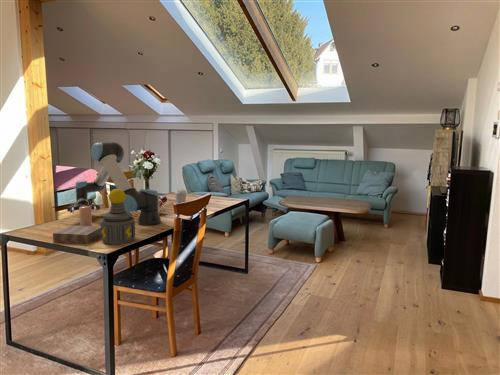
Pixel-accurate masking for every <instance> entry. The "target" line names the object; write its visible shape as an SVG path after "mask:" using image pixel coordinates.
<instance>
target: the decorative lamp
mask: <svg viewBox="0 0 500 375" xmlns="http://www.w3.org/2000/svg"><path fill="white" fill-rule="evenodd" d="M125 198H126V195H125V193H124V192H123V191H122V190H121V189H117V188H114V189H112V190H111V191H110V192H109V194H108V200H109V202H110V209H109V211H107V212H106V213H103V216H102V217H103V218H102V219H101V222H100V227H101V236H100V238H101V239H102V240H101V241H102V243H104V244H106V243H107V244H106V245H113V244H115V245H123V244H122V243H125V244H128V242H129V243H132V242H133V241H134V240H135V237H136V221H135V218H134V217H133V212H128V211H126V210H125V209H124V208H125V206H124V203H123V202H124V201H125Z"/></svg>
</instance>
